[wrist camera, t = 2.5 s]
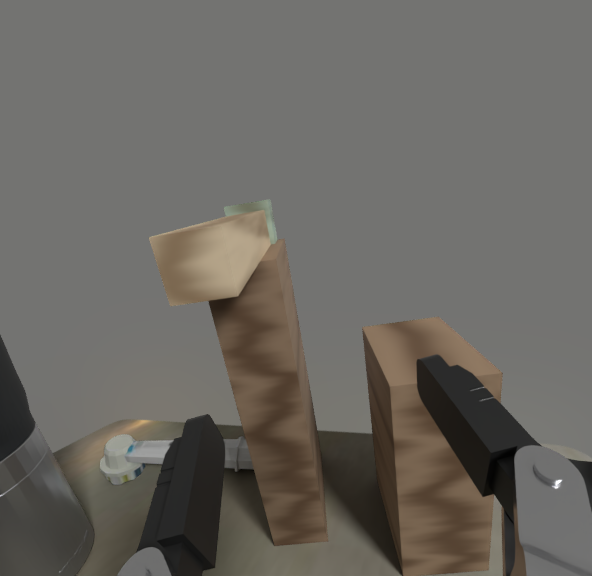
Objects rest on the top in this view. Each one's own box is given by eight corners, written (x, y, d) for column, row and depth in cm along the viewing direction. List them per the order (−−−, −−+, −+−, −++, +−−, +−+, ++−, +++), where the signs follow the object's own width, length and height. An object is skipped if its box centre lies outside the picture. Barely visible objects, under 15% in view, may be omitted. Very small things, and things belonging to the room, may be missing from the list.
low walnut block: (403, 576, 27) (390, 386, 21) (376, 478, 37) (362, 327, 30) (488, 570, 27) (502, 373, 20) (439, 472, 36) (438, 316, 30)
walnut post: (274, 545, 32) (200, 270, 22) (281, 459, 42) (232, 246, 32) (328, 541, 31) (276, 258, 22) (321, 454, 42) (284, 238, 32)
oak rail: (161, 307, 14) (133, 219, 13) (239, 245, 32) (230, 206, 31) (246, 295, 14) (226, 203, 13) (277, 239, 32) (270, 199, 31)
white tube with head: (258, 458, 38) (83, 451, 40) (261, 494, 41) (95, 485, 42) (265, 428, 43) (109, 423, 45) (267, 461, 46) (118, 455, 47)
